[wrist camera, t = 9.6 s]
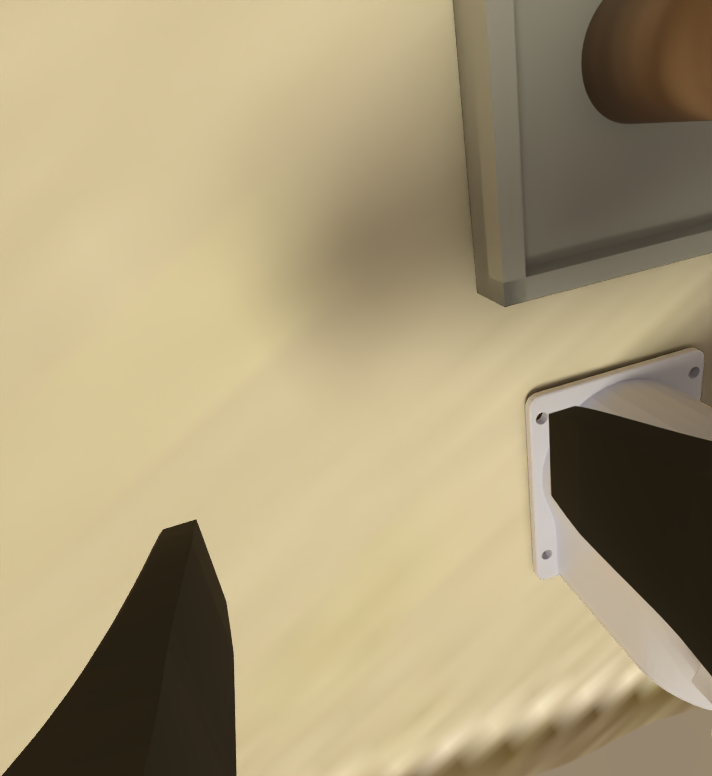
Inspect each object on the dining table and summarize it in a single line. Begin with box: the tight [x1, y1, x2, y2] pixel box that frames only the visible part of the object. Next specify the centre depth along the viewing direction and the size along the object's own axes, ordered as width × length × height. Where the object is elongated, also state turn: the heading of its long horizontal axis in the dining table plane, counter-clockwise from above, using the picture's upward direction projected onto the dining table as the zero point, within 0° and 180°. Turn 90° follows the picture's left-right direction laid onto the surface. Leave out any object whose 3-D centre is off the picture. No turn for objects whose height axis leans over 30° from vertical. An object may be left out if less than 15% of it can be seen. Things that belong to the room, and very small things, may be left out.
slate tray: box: [453, 0, 712, 307], centre depth 18 cm, size 13×11×2 cm
